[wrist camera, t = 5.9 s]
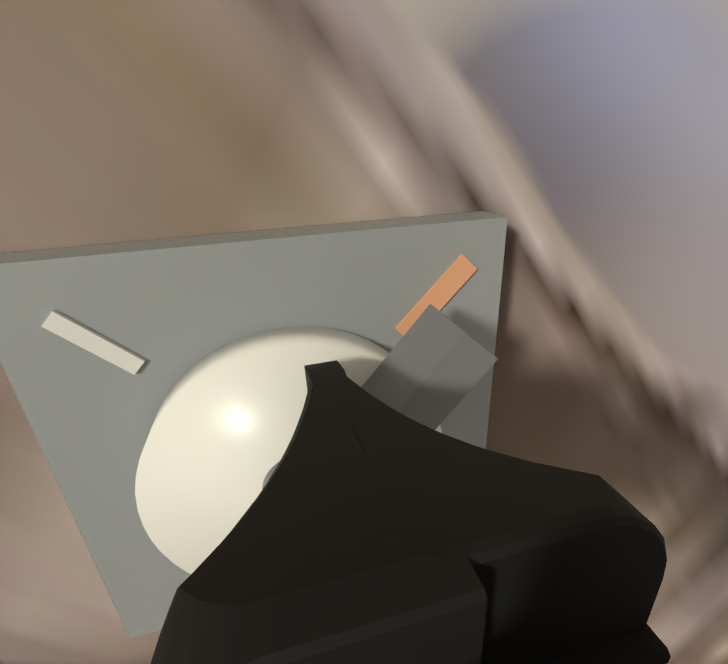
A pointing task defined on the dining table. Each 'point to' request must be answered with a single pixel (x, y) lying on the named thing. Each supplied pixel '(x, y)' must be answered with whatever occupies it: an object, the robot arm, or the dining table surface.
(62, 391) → the dial plate
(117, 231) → the dining table surface
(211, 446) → the dial
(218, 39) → the dining table surface
